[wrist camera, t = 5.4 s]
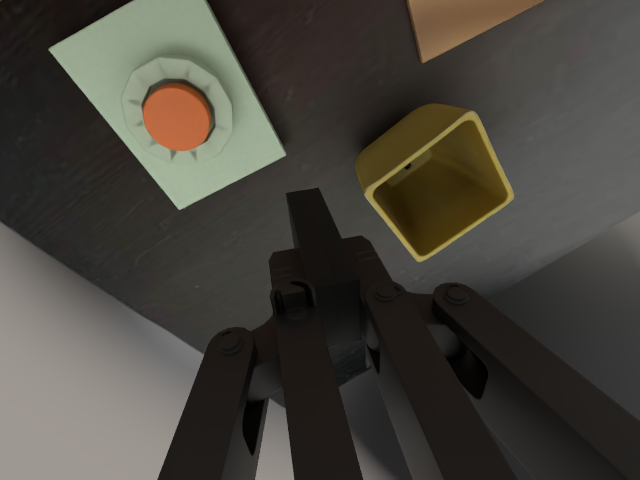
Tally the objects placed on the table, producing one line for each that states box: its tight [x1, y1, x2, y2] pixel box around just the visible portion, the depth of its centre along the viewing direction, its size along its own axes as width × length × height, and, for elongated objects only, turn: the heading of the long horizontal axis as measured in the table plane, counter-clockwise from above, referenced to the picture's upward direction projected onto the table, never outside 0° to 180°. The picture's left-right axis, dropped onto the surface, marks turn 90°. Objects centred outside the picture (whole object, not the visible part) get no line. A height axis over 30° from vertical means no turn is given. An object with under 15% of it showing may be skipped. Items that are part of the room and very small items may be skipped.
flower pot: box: [355, 103, 514, 262], centre depth 29 cm, size 9×9×9 cm
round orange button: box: [143, 83, 211, 151], centre depth 23 cm, size 4×4×2 cm
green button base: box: [49, 0, 286, 210], centre depth 25 cm, size 13×10×4 cm
